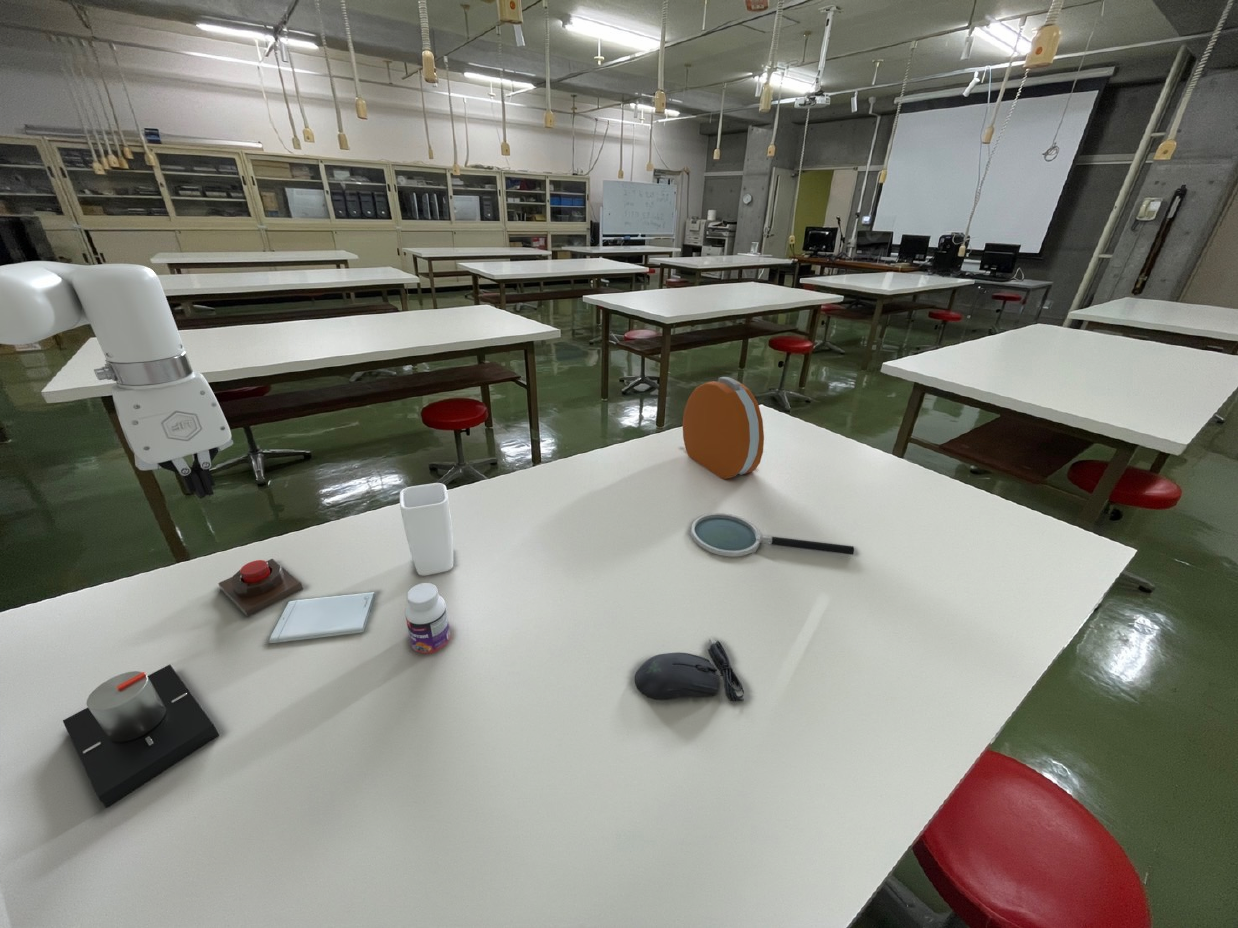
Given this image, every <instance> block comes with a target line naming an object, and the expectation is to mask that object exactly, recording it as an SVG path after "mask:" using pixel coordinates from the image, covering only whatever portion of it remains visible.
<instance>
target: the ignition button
mask: <svg viewBox="0 0 1238 928" xmlns="http://www.w3.org/2000/svg"><path fill="white" fill-rule="evenodd" d="M266 561H267V560H264V559H258V560H257V559H256V560H252V561H250V562H248V563H246V564H244V565H243V566H242V567H241V568H240V569H239V570H240V573H241V575H242V578H243V580H244V582H246V583H253V582H258V581H260V580H262V579H265V578H267V577H268V576H269V575H270V569H269V566H268V563H267V562H266Z"/></svg>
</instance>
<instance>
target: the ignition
mask: <svg viewBox="0 0 1238 928" xmlns="http://www.w3.org/2000/svg"><path fill="white" fill-rule="evenodd" d="M265 561H266V562H267V563H268V566H269V569H270V575H269V576H268V577H267V578H265V579H262V580H260V581H258V582H253V583H246V582H244V580H243V578H242V575H241V573H240V570H241V569H239V570H238V571H237V572H236V573H234V574H233V575H232V576H231V577H228V578H226V579H224V580H222V581H220V582H218V583H217V584H218V587H219V589H220V590H221V591H222V593H223V594H224V595H225V596H226V597H227V598H228V599H229V600H230V601H231V602H232V603H233V604H234V605H235V606H236V607H237V608H238V609H239V610H240V611H241V612H242V613H243V614H244V615H245V616H246V617H247V618H249V617H251V616H253V615H255V614H258V613H259V612H262V611H263V610H266V609H267V608H269V607H271V606H273V605H275V604H276V603H279V602H281V601H283V600H284V599H287V598H288V597H291V596H292V595H294V594H296V593H298V592H300V591H302V590H304V587H303V584H302V582H301V581H300V580H299V579H298V578H296V577H295V576H294V575H293V574H291V573H290V572H289V571H288V570H287V569H286V568H284V567H283V566H282V565H281V564H280V563H279V562H277V561H276V560H275V559H274V558H270V559H268V560H265Z"/></svg>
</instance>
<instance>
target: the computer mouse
mask: <svg viewBox="0 0 1238 928" xmlns="http://www.w3.org/2000/svg"><path fill="white" fill-rule="evenodd" d="M708 642H709V644H710V645H709V648H708V649H707V652H708V655H709V656H710V658H711V660H712V662H713V663H711V661H710V660H709V659H708V658H705V657H702V656H699V655H697V654H692V653H688V652H681V651H680V652H666V653H660V654H656V655H654V656H652V657H650V658H648V659H646V660H645V661H644V662H643V663H642V664H641V665H640V666H639V668H638V669H637V671H636V672H635V674H634V680H633V681H634V685H635V688H636V689H637V690H638V691H639V692H640V693H641V694H642V695H643V696H645V697H646V698H648V699H651V700H655V701H668V700H674V699H682V698H703V697H704V698H708V697H713V696H714V695H716V694H717V692H718V691H719V689H720V680H721V679H720V677H722V678H723V682H724V683H723V687H724V691H725V695H726V697H727V699H729V701H730V702H734V703H735V702H744V700H745V699H744V698H743V697H744V695H745V691H744V687H743V684H742V682H741V681H740V679H739V677H738V676H737V675H736V672H735V671H734V668H732V666H731V664H730V663H731V662H730V660H729V656H728V654H727V652H726V650H725V648H724V647H723V645H722V643H721V642H720V641H719V640H716V639H713V638H711V637H710V638H709V639H708ZM718 671H719V673H720V675H719V674H716V672H718ZM734 685H735V686H736V687H738V688H739V689H737V688H735V687H734ZM741 691H742V694H741V695H738V694H737V693H738V692H739V693H740V692H741Z"/></svg>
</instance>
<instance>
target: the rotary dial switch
mask: <svg viewBox="0 0 1238 928" xmlns="http://www.w3.org/2000/svg"><path fill="white" fill-rule="evenodd" d="M147 676H148V678H149V680H150V682H151V683H152V685H153V687H154V688H155V690H156V692H157V694H158V695H159V697H160V699H161V701H162V702H163V704H164V706H165V708H166V713H165V715H164V717H163V719H162V720H161V722H160V723H159V724H158V725H157V726H156V727H154V728H153V729H152V730H151V731H149V732H148V733H146V734H144V735H143V736H141V737H139V738H136V739H134V740H131V741H127V742H113V741H111V740H110V739H109V737H108V736H107V734H106V733H105V732H104V730H103V729H102V727H101V726H100V724H99V723H98V721H97V720H96V719H95V717H94V716H93V714H92V713H91V711H90V710H89V708H88V707H86V708H84V709H82V710H80V711H78V712H76V713H74V714H73V715H71V716H69V717H67V718H65V719H63V720H62V722H63V725H64V727H65V729H66V731H67V734H68V736H69V738H70V740H71V742H72V744H73V747H74V749H75V752H76V753H77V755H78V757H79V760H80V762H81V764H82V766H83V769H84V770H85V773H86V775H87V777H88V780H89V781H90V784H91V786H92V789H93V790H94V793H95V795H96V797H97V799H98V800H99V801H100V802H101V803H102V805H103V806H104V807H105V809H108V808H110V807H112V806H113V805H115V804H116V803H118V802H119V801H121V800H122V799H124V798H125V797H127V796H129V795H130V794H131V793H133V792H135V791H136V790H138V789H139V788H141V787H142V786H144V785H146V784H147V783H148V782H150V781H152V780H153V779H155V778H156V777H158V776H159V775H161V774H162V773H164V772H166V771H167V770H169V769H170V768H172V767H173V766H174V765H176V764H178V763H179V762H181V761H183V760H184V759H186V758H187V757H189V756H190V755H192V754H193V753H195V752H197V751H198V750H199V749H201V748H203V747H204V746H206V745H207V744H209V743H210V742H212V741H213V740H215V739H217V738H218V737H220V733H219V731H218V730H217V728H216V726H215V724H214V723H213V721H212V720H211V719H210V717H209V715H208V714H207V713H206V712H205V710H204V709H203V707H202V706H201V704H200V703H199V702H198V700H197V698H195V696H194V695H193V694H192V692H191V691H190V690H189V688H188V686H186V684H185V683H184V681H183V679H182V678H181V677H180V675H179V674H178V673H177V672H176V670H175V669H174V668H173V666H172V665H171V664H168V665H166V666H164V667H161V668H160V669H158V670H156V671H154V672H152V673H150V674H148V675H147Z"/></svg>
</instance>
